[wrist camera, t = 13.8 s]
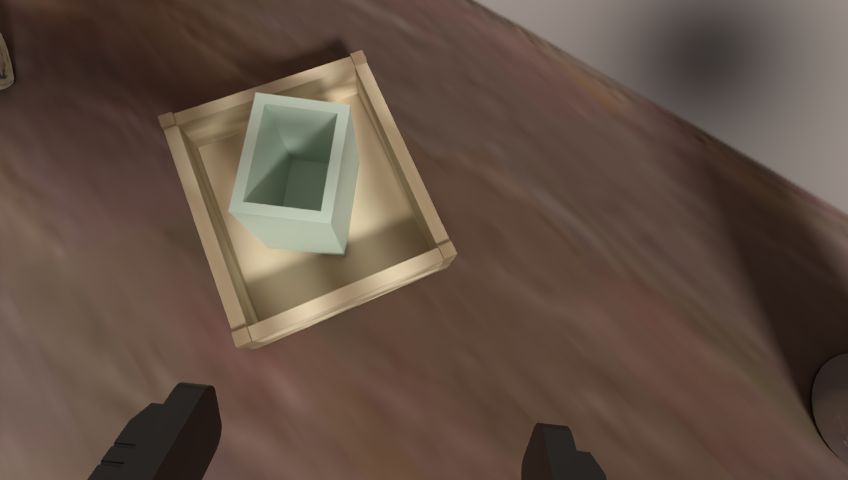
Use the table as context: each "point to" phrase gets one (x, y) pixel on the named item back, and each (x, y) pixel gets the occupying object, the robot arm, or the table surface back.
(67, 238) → the table surface
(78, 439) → the table surface
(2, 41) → the pencil case
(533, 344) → the table surface
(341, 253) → the box
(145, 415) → the robot arm
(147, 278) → the table surface
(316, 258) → the wooden tray
